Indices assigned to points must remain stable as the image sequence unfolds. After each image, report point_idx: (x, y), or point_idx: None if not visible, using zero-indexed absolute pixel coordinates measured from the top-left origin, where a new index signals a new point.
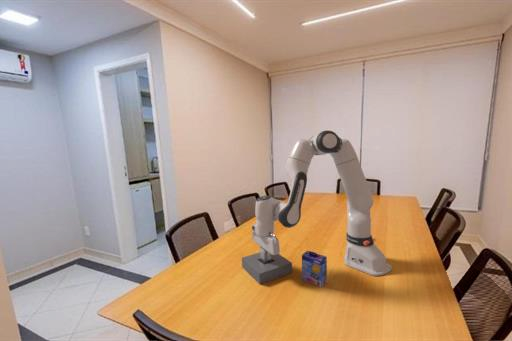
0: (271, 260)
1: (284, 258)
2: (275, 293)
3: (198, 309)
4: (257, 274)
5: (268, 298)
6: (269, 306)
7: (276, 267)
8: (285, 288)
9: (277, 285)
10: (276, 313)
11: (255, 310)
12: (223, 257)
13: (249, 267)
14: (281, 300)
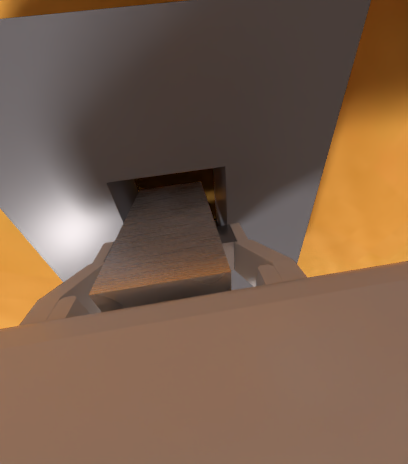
0: (203, 191)
1: (230, 15)
2: (348, 226)
3: None
4: None
5: (345, 252)
6: (369, 260)
7: (309, 199)
8: (364, 179)
9: (321, 200)
10: (402, 254)
11: None
12: (6, 320)
13: None
14: (388, 223)
